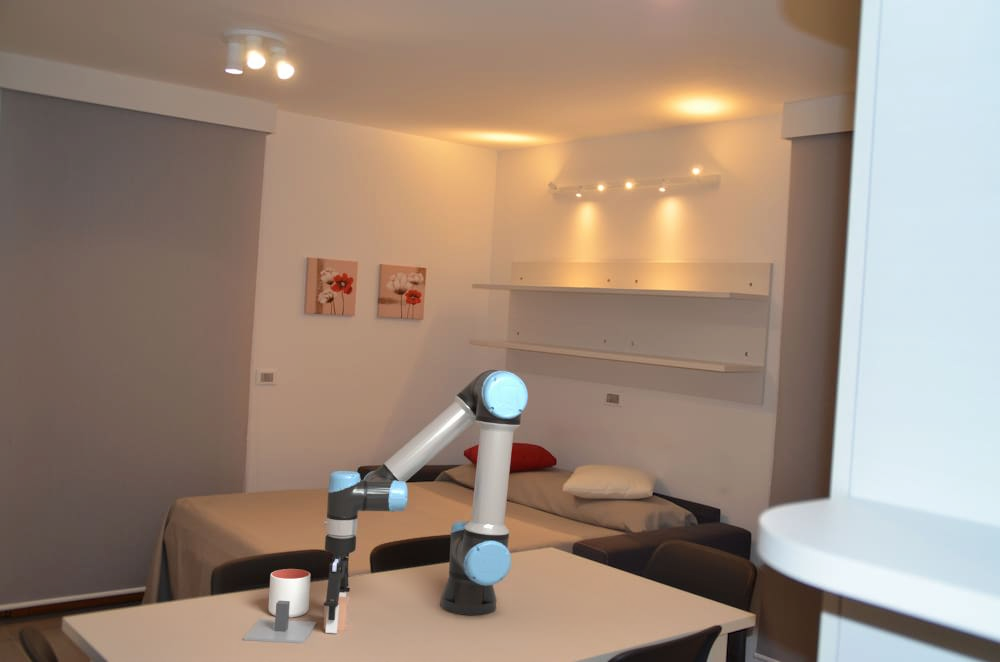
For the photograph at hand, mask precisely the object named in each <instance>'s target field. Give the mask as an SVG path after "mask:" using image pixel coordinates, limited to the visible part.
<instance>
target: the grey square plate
mask: <svg viewBox="0 0 1000 662" xmlns="http://www.w3.org/2000/svg"><path fill="white" fill-rule="evenodd" d="M289 605H290V601H278V602H277V603H276V616H274V617H275V619H267V618H265V619H263V618H259V620H257V622H256V623H255V624H254V625H253V627H252V628H251V629H250V630H249V631H247V634H246V635H245V636H244V637H243V641H256V642H270V643H271V642H272V643H274V642H275V643H293V644H295V643H296V644H305V642H306V641H307V639H308V638H309V637H310V635H311V633H312V632H313V630H314V629H315V627H316V626H317V624H318V622H317V621H304V620H303V621H301V620H290V618H289Z"/></svg>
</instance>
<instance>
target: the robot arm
mask: <svg viewBox="0 0 1000 662" xmlns="http://www.w3.org/2000/svg"><path fill="white" fill-rule="evenodd" d="M528 401H529V393H528V388H527V386H526V384H525V383H524V381H523V379H521V378H520V377H519V376H518V375H516V374H515V373H512V372H510V371H506V370H497V369H489V370H486V371H483V372H481V373H479V374H478V375H477V376H476V377H475V378H473V379H472V380H471V381H470V382H469V383H468V384H467V385H466V386H465V387H464V388H463V389H461V390H460V391H459V392H458V393H457V394H456V395H455V396H454V400H453V402H452V404H450V405H449V406H448V407H446V409H444V411H441V413H440V414H439V415H438V416H437V417H435V418H434V419H433V420H432V421H431V422H430V423H428V425H426V426H425V427H424V428H423V429H421V430H420V431H419V432H418V433H417V434H415V435H414V436H413V437H412V438H411V439H410V440H409V441H408V442H407V443H406V444H404V445H403V446H402V447H401V448H400V449H398V450H397V452H395V453H394V454H393V455H391V457H390V458H388V459H387V460H386V461H385V462H384V463H382V465H380V466H379V467H378V468H377V469H376V470H374V471H370V472H368V473H367V474H366V475H365V476H364V478H363V479H361V474H360V473H359V472H358V471H349V470H338V471H337V470H335V471H333V472H332V473H331V474H330V475H329V481H328V489H327V502H326V503H327V505H326V508H327V509H326V519H325V520H324V521H323V524H324V525H326V526H325V534H326V535H325V538H324V541H325V542H324V550H325V551H326V552H328V553H332V558H331V559H330V561H329V565H328V566H329V567H328V569H329V571H328V572H329V573H328V579H327V590H326V597H325V601H326V603H325V602H323V606H324V607H325V606H327V615H326V629H325V634H337V633H338V630H337V629H338V612H339V605H338V600H339V597H347V593H349V592H350V590H351V588H350V587H349V585H350V584H349V560H350V558H349V556H350V554H352V553H353V552H355V551H356V549H357V548H356V546H357V536H356V535H357V533H358V520H359V519H358V517H359V515H358V513H359V512H390V513H393V512H403V511H405V510H406V509H407V505H408V498H409V497H408V496H409V495H408V491H409V490H408V485H407V481H408V480H409V479H411V478H412V476H414V475H416V473H418V471H420V470H421V469H422V468H423V467H424V466H425V465H426V464H427V463H429V462H430V461H431V460H432V459H433V458H435V457H436V456H437V455H438V454H439V453H441V452H442V451H443V449H445V448H446V447H447V446H448V445H449V444H450V443H452V442H453V441H454V440H455V439H456V438H457V437H459V436H460V435H461V434H462V433H463V432H464V431H465V430H466V429H467V428H469V427H470V426H471V425H472V424H477V425H478V426H479V428H480V432H479V439H478V440H479V441H478V451H477V460H476V461H477V462H476V469H475V470H476V471H475V478H474V479H475V481H474V489H473V499H472V507H471V508H472V509H471V517H470V518H471V519H470V520H469V521H468V520H467V521H465V520H464V521H455V522H453V524H452V525H451V531H450V535H449V536H450V546H449V547H450V548H449V565H448V569H449V570H448V578H447V582H446V583H445V587H444V589H443V592H442V594H441V596H440V597H441V598H440V607H441V608H442V609H443V610H445V611H447V612H450V613H453V614H456V615H457V614H458V615H466V616H468V615H469V616H471V615H472V616H476V615H485V614H490V613H493V612H494V611H496V609H497V595H496V592H495V589H494V585H496V584H498V583H500V582H501V581H503V579H505V578H506V577H507V576H508V574H509V572H510V569H511V567H512V557H511V552H510V550H509V548H508V547H509V539H510V537H509V536H510V530H509V529H508V527H507V526H506V525H505V520H506V519H505V517H506V509H507V501H508V500H507V499H508V489H509V479H510V478H509V477H510V471H511V470H510V468H511V458H512V451H513V450H512V449H513V440H514V433H515V431H516V430H517V429H518V428H519V427H520V426H521V420H522V413H523V412H524V410H525V409H526V407H527V403H528ZM333 600H334V601H333Z"/></svg>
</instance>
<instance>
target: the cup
mask: <svg viewBox="0 0 1000 662" xmlns="http://www.w3.org/2000/svg"><path fill="white" fill-rule="evenodd" d="M311 574H312V573H310V572H309V571H307V570H304V569H297V568H287V569H285V568H283V569H278V570H274V571H273V572H271V573H270V576H269V577H270V578H269V596H268V597H269V598H268V612H269V613H270V614H271V615H272V616H274V617H275V616H276V603H277V602H278V601H290V605H289V619H290V618H297V617H298V618H299V617H301V616H303V615H306V614H307V613H308V611H309V608H310V605H309V604H310V591H311V589H310V588H311Z"/></svg>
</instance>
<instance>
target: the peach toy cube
mask: <svg viewBox="0 0 1000 662" xmlns="http://www.w3.org/2000/svg"><path fill="white" fill-rule="evenodd" d="M350 600H351V597H350V596H346V597H339V600H338V605H339V612H338V629H337V631H346V629H347V627H348V625H349V619H350V603H351V602H350ZM333 601H334V600H333ZM324 603H326V600H325V601H324ZM323 612H324V614H323V630H326V615H327V606H324V611H323Z"/></svg>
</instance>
